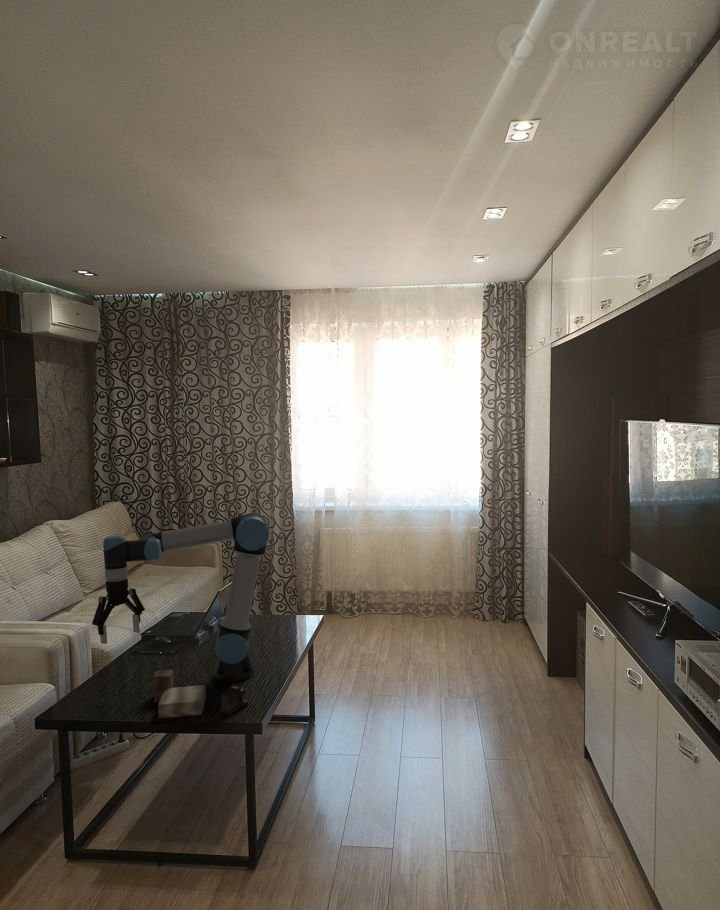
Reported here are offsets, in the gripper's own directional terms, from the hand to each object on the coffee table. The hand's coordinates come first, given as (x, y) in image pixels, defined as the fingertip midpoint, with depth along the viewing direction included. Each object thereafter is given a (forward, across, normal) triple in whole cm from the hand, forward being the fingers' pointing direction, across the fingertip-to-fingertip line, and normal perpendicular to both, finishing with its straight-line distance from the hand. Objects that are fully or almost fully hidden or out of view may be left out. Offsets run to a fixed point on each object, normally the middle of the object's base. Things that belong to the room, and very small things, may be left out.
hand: (120, 637), depth 231 cm
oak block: (+23, -5, +25) cm, 34 cm away
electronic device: (+23, -14, +42) cm, 50 cm away
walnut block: (+23, -8, +12) cm, 27 cm away
